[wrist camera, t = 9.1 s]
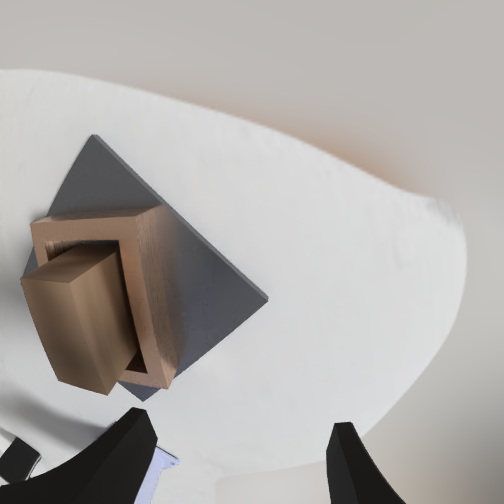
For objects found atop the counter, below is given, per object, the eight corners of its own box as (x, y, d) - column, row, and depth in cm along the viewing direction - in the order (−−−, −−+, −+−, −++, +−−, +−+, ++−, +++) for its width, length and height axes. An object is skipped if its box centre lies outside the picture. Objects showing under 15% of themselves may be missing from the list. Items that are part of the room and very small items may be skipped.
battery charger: (20, 442, 35) (-3, 475, 24) (15, 435, 34) (-9, 468, 23) (44, 460, 35) (23, 495, 24) (41, 453, 34) (17, 490, 23)
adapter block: (126, 244, 17) (69, 282, 11) (145, 339, 19) (107, 395, 13) (79, 244, 17) (20, 278, 12) (100, 333, 19) (58, 380, 14)
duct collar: (145, 397, 22) (132, 421, 19) (24, 281, 20) (2, 295, 17) (268, 296, 18) (265, 323, 15) (97, 134, 16) (67, 133, 13)
